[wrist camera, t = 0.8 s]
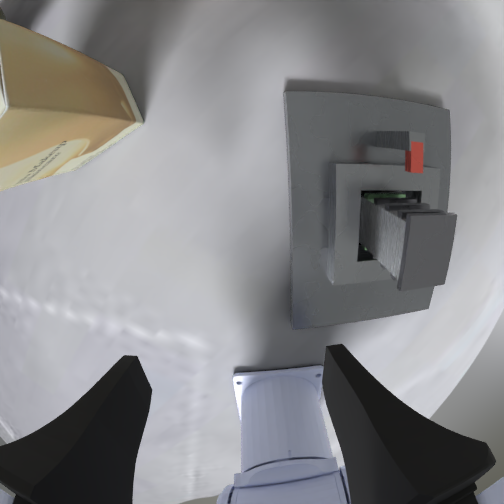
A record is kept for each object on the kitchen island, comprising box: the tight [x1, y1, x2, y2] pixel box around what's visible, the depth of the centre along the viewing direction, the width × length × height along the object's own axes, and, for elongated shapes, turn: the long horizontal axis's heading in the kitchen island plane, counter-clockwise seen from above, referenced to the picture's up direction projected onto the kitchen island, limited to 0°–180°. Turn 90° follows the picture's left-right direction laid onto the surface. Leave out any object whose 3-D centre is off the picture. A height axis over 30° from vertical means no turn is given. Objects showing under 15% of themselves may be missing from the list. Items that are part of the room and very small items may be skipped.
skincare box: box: [0, 19, 144, 191], centre depth 9 cm, size 6×4×12 cm
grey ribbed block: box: [359, 193, 457, 292], centre depth 14 cm, size 4×3×6 cm
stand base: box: [283, 91, 451, 329], centre depth 16 cm, size 16×12×5 cm
